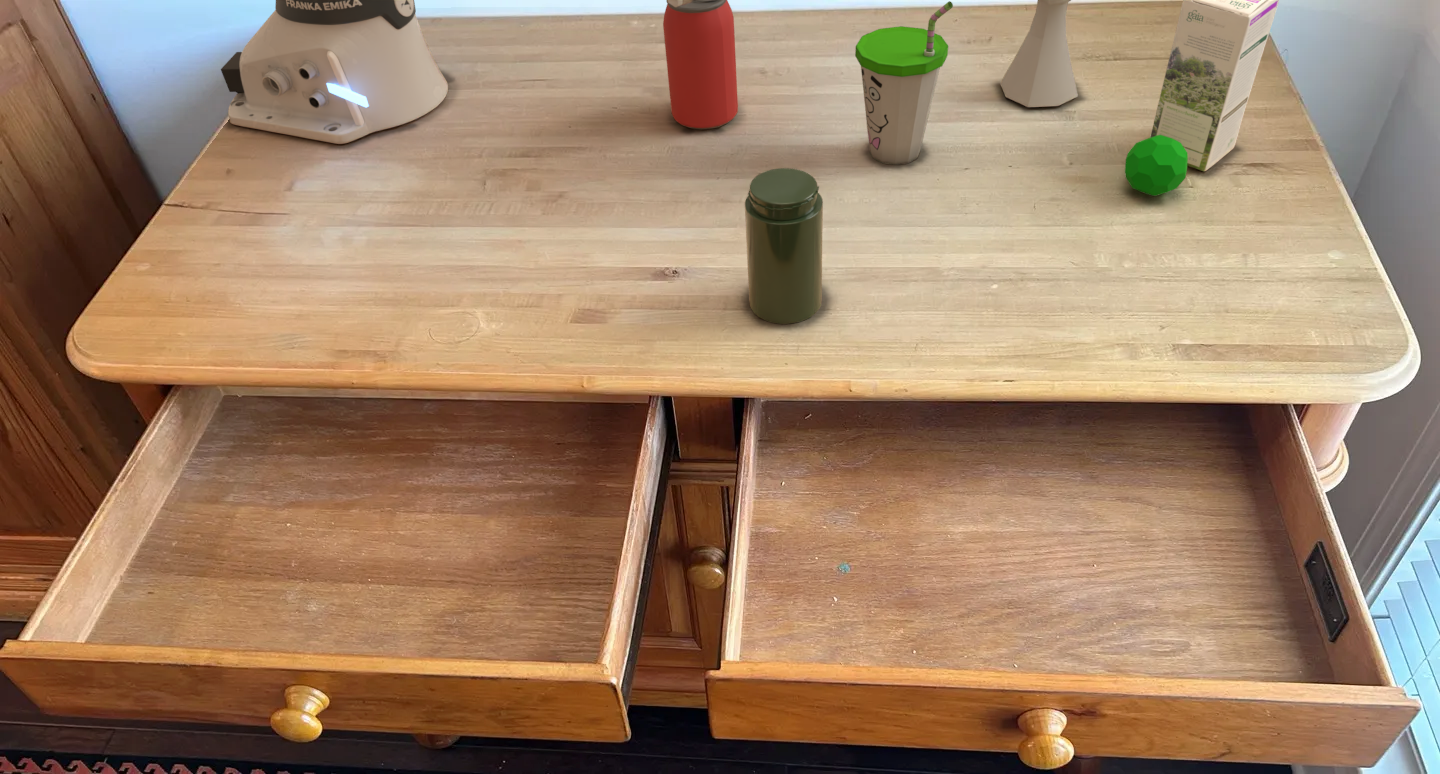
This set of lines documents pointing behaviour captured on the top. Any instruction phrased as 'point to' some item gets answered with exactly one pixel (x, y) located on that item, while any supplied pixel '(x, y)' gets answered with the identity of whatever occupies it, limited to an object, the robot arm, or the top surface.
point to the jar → (784, 245)
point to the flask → (1043, 61)
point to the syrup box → (1212, 75)
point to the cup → (900, 86)
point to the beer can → (701, 63)
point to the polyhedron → (1156, 165)
